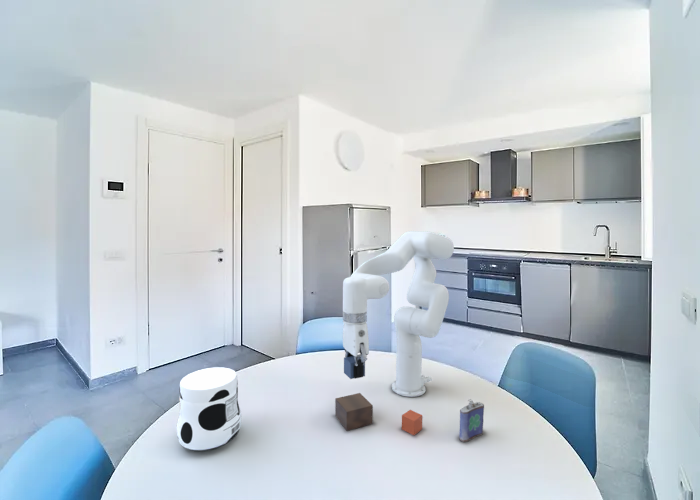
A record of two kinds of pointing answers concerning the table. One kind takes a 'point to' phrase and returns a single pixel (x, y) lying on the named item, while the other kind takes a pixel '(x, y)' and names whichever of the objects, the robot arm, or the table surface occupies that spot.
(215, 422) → the milk container
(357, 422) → the walnut base
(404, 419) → the terracotta cube
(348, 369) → the blue cube
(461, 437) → the flask
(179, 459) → the table surface
